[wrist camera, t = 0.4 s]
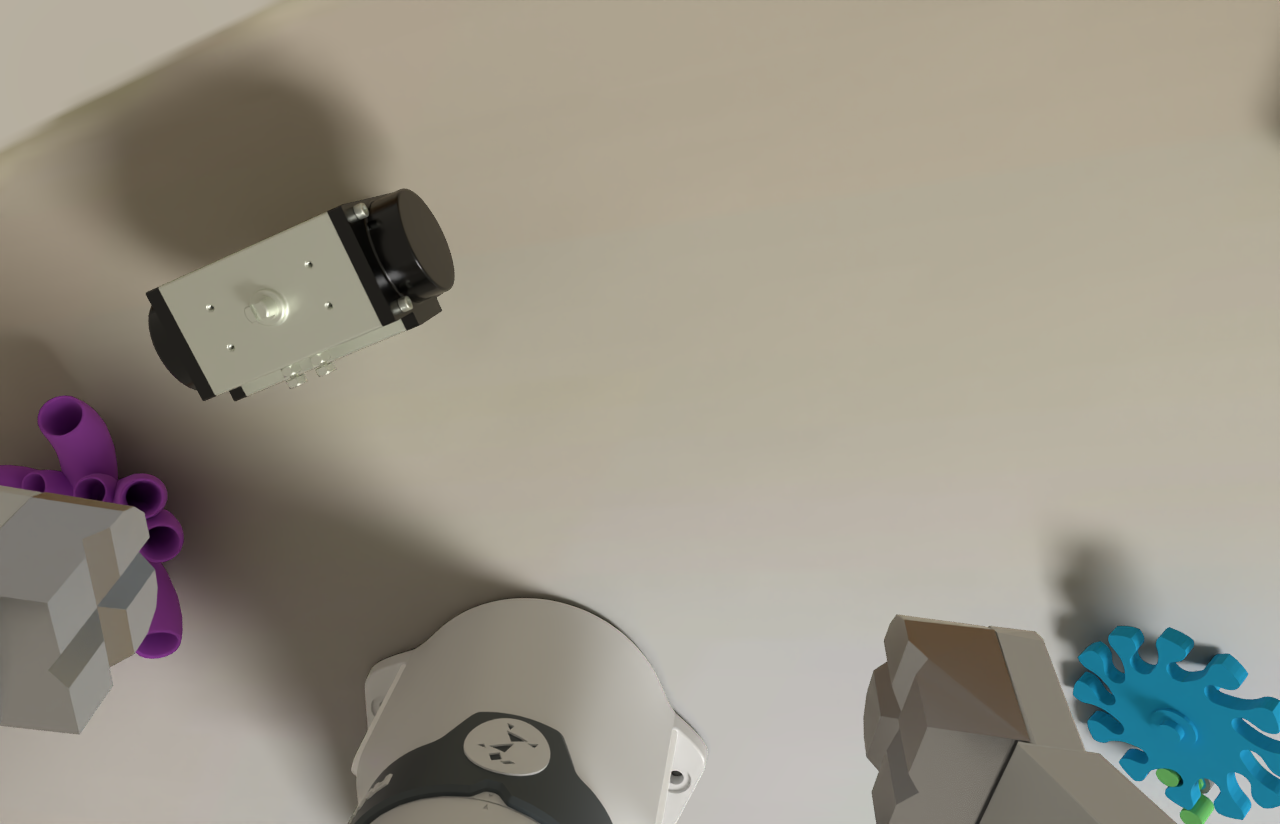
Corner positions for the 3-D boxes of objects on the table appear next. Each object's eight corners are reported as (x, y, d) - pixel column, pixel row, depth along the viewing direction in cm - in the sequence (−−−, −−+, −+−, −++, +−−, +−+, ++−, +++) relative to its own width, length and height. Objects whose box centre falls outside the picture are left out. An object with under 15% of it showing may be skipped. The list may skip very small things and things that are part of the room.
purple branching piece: (257, 473, 57) (248, 624, 51) (52, 573, 61) (21, 727, 54) (92, 359, 49) (57, 524, 43) (-136, 482, 52) (-198, 652, 46)
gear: (1057, 613, 49) (1289, 688, 42) (1118, 551, 52) (1344, 611, 45) (1075, 786, 53) (1289, 882, 46) (1130, 719, 57) (1339, 799, 49)
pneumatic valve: (246, 264, 50) (97, 311, 39) (457, 171, 48) (363, 192, 36) (298, 367, 52) (168, 441, 40) (506, 281, 49) (430, 334, 38)
